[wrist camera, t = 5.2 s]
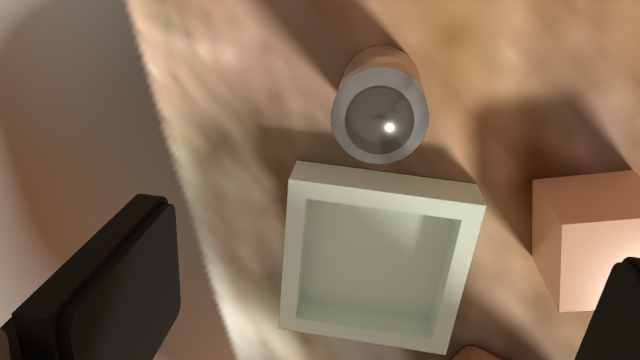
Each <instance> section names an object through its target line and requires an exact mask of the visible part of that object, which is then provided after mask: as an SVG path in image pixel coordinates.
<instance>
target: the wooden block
mask: <svg viewBox="0 0 640 360" xmlns="http://www.w3.org/2000/svg"><path fill="white" fill-rule="evenodd" d="M452 360H502V359H500V358H498V357H496V356H494V355H492V354H490V353H488V352H486V351H484V350H482V349H480V348H478V347H473V346H467V347H465V348H463V349H461V350H460V351H459V352H458V353H457V354H456V355H455V356H454V358H453V359H452Z"/></svg>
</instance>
